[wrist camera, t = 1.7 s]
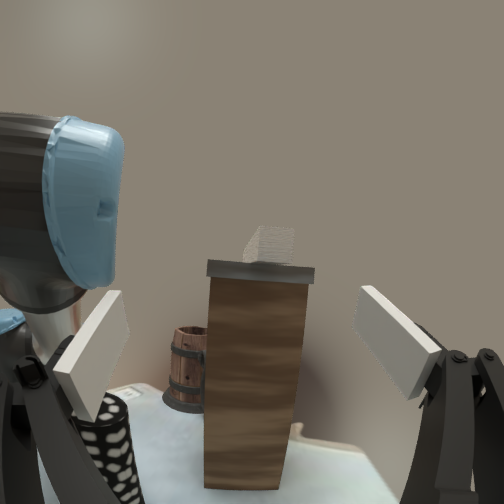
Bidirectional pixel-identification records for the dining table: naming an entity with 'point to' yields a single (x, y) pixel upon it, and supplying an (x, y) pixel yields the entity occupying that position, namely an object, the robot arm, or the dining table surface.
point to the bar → (270, 246)
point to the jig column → (251, 371)
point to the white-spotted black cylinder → (112, 448)
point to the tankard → (187, 370)
